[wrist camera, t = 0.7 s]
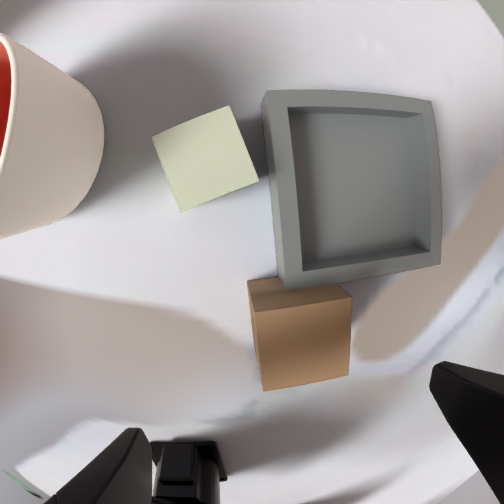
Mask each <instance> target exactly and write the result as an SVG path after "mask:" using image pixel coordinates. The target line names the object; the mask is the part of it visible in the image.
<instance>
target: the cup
mask: <svg viewBox="0 0 504 504" xmlns="http://www.w3.org/2000/svg"><path fill="white" fill-rule="evenodd" d="M103 148H104V125H103V119H102V115H101V111H100V108H99V106H98V104H97V102H96V100H95V98H94V97H93V95H92V94H91V93H90V91H89V90H88V89H87V88H86V87H85V86H83V85H82V84H81V83H79V82H78V81H76V80H75V79H73V78H72V77H70V76H69V75H67V74H66V73H64V72H63V71H61V70H60V69H58V68H57V67H55V66H54V65H52V64H51V63H49V62H48V61H46V60H45V59H43V58H42V57H40V56H38V55H37V54H35V53H34V52H32V51H31V50H29V49H27V48H26V47H24V46H23V45H21V44H19V43H18V42H16V41H15V40H13V39H11V38H10V37H8V36H6V35H5V34H3V33H1V32H0V239H3V238H6V237H9V236H12V235H15V234H19V233H22V232H25V231H29V230H32V229H36V228H39V227H43V226H46V225H50V224H52V223H55V222H57V221H59V220H60V219H62V218H64V217H65V216H66V215H68V214H69V213H70V212H72V211H73V210H74V209H75V208H76V207H77V206H78V205H79V203H80V202H81V201H82V200H83V199H84V197H85V196H86V194H87V193H88V191H89V189H90V188H91V186H92V184H93V182H94V180H95V177H96V175H97V172H98V170H99V167H100V163H101V159H102V154H103Z"/></svg>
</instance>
